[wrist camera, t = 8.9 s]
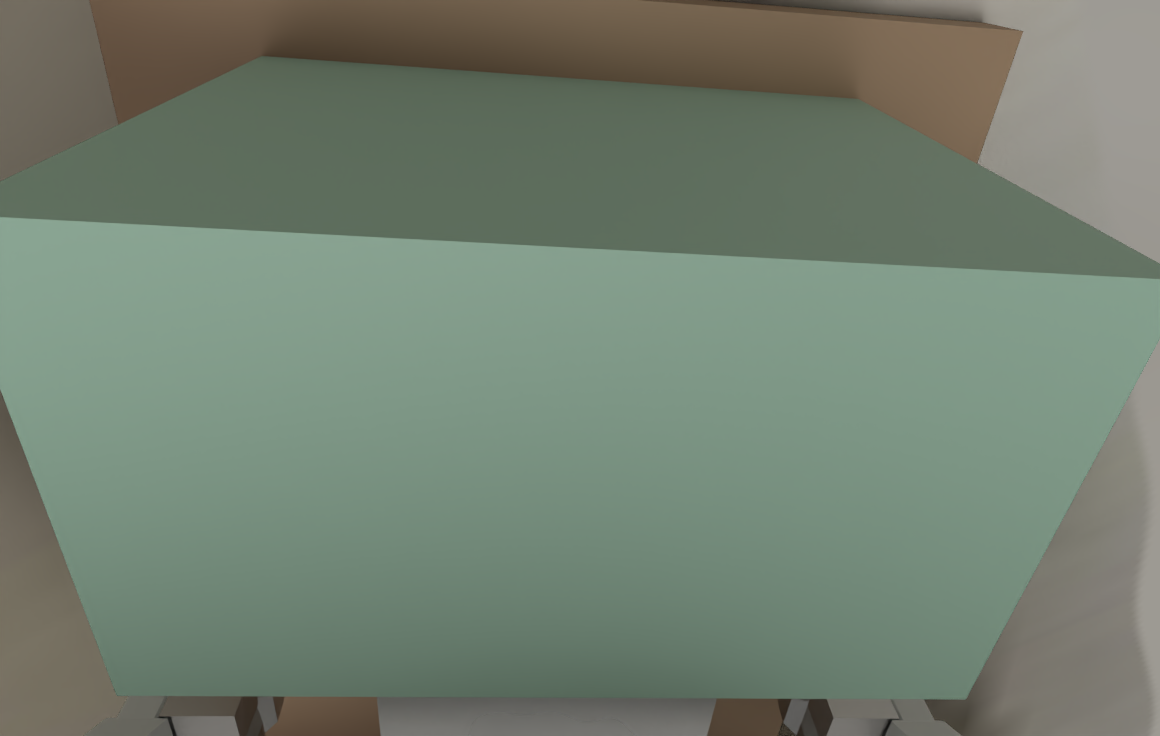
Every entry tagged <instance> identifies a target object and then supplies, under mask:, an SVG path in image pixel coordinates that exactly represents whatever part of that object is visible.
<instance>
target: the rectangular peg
mask: <svg viewBox="0 0 1160 736" xmlns="http://www.w3.org/2000/svg"><path fill="white" fill-rule="evenodd" d="M716 700H717V698H511V697H377V704H378V714H379V724H380V734H381V736H707V734H708V730H709V726H710V722H711V719H712V715H713V711H714V708H715V704H716Z"/></svg>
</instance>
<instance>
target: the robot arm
mask: <svg viewBox="0 0 1160 736" xmlns="http://www.w3.org/2000/svg"><path fill="white" fill-rule="evenodd" d="M283 702H284V697H281V696H128V698H127V699H126V701H125V703H124V705H123V707H122V709H121V711H120V712H119V714H118V716H117V718H105V719H104V720H103V721H102V722H100V723H99V724H98V725H96V726H95V727H94V728H92V729H91V730H90V731H88V732H87V733H86V734H85V735H83V736H265V733H266V732H267V731H268V730H269V729H270V728H271V727H272V726H273V725H274V724H275V723H277V722H278V719H279V715H280V712H281V709H282V706H283ZM778 705H779V710H780V713H781V717H782V720H783V723H784V724H785V725H786V726H787V727H788V728H789V729H790V730H791V731H792V732H793V733H794V734H795V735H796V736H961V735H960V734H959V733H958V732H957V731H955V730H954V729H953V728H952V727H951V726H949V725H948V724H947V723H946V722H944V721H940V720H934V719H933V717H932V715H931V713H930V711H929V709H928V707H927V705H926V703H925V701H924V699H778Z"/></svg>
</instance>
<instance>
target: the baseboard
mask: <svg viewBox="0 0 1160 736" xmlns="http://www.w3.org/2000/svg"><path fill="white" fill-rule="evenodd" d="M90 5H91V9H92V13H93V18H94V22H95V26H96V30H97V35H98V39H99V43H100V48H101V52H102V56H103V60H104V65H105V69H106V73H107V77H108V82H109V86H110V90H111V95H112V99H113V103H114V107H115V112H116V116H117V120H118V124H121V123H123V122H125V121H127V120H129V119H132V118H134V117H136V116H138V115H140V114H142V113H144V112H146V111H148V110H150V109H152V108H154V107H157V106H159V105H161V104H163V103H165V102H167V101H169V100H171V99H173V98H175V97H177V96H179V95H182V94H184V93H186V92H188V91H190V90H192V89H194V88H196V87H198V86H200V85H202V84H204V83H207V82H209V81H211V80H213V79H215V78H217V77H219V76H221V75H223V74H225V73H227V72H229V71H231V70H234V69H236V68H238V67H240V66H242V65H244V64H246V63H248V62H250V61H252V60H254V59H256V58H259V57H261V56H269V57H283V58H296V59H310V60H324V61H338V62H352V63H366V64H380V65H394V66H408V67H421V68H435V69H449V70H463V71H477V72H491V73H505V74H519V75H533V76H546V77H560V78H574V79H588V80H602V81H616V82H630V83H644V84H658V85H672V86H685V87H699V88H713V89H727V90H741V91H755V92H769V93H783V94H797V95H810V96H824V97H838V98H852V99H859V100H861V101H863V102H865V103H867V104H869V105H870V106H872V107H874V108H876V109H878V110H880V111H881V112H883V113H885V114H887V115H889V116H890V117H892V118H894V119H896V120H898V121H900V122H901V123H903V124H905V125H907V126H909V127H911V128H912V129H914V130H916V131H918V132H920V133H922V134H923V135H925V136H927V137H929V138H931V139H933V140H934V141H936V142H938V143H940V144H942V145H944V146H945V147H947V148H949V149H951V150H953V151H954V152H956V153H958V154H960V155H962V156H964V157H965V158H967V159H969V160H971V161H973V162H975V163H976V164H977V162H978V159H979V156H980V153H981V150H982V148H983V145H984V142H985V139H986V136H987V133H988V130H989V127H990V125H991V122H992V119H993V116H994V113H995V110H996V107H997V104H998V102H999V99H1000V96H1001V93H1002V90H1003V87H1004V84H1005V82H1006V79H1007V76H1008V73H1009V70H1010V67H1011V64H1012V61H1013V59H1014V56H1015V53H1016V50H1017V47H1018V44H1019V41H1020V38H1021V36H1022V33H1023V31H1019V30H1015V29H1010V28H1006V27H1001V26H997V25H992V24H988V23H981V22H969V21H957V20H944V19H932V18H920V17H908V16H895V15H883V14H871V13H859V12H847V11H834V10H822V9H810V8H798V7H785V6H773V5H761V4H749V3H736V2H724V1H712V0H90ZM782 722H783V720H782V717H781V713H780V710H779V705H778V699H741V698H717V700H716V704H715V708H714V711H713V715H712V719H711V722H710V726H709V730H708V734H707V736H778V733H779V731H780V728H781V725H782ZM265 736H381V734H380V724H379V714H378V704H377V697H284V702H283V706H282V709H281V712H280V715H279V719H278V722H277V723H275V724H274V725H273V726H272V727H271V728H270V729H269V730H268V731H267V732H266V733H265Z"/></svg>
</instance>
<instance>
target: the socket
mask: <svg viewBox="0 0 1160 736" xmlns="http://www.w3.org/2000/svg"><path fill="white" fill-rule="evenodd" d="M1159 339H1160V264H1159V263H1157V262H1156V261H1154V260H1152V259H1150V258H1148V257H1146V256H1144V255H1143V254H1141V253H1139V252H1137V251H1136V250H1134V249H1132V248H1130V247H1128V246H1126V245H1125V244H1123V243H1121V242H1119V241H1117V240H1115V239H1114V238H1112V237H1110V236H1108V235H1106V234H1104V233H1103V232H1101V231H1099V230H1097V229H1095V228H1094V227H1092V226H1090V225H1088V224H1086V223H1084V222H1083V221H1081V220H1079V219H1077V218H1075V217H1073V216H1072V215H1070V214H1068V213H1066V212H1064V211H1062V210H1061V209H1059V208H1057V207H1055V206H1053V205H1051V204H1050V203H1048V202H1046V201H1044V200H1042V199H1040V198H1039V197H1037V196H1035V195H1033V194H1031V193H1029V192H1028V191H1026V190H1024V189H1022V188H1020V187H1019V186H1017V185H1015V184H1013V183H1011V182H1009V181H1008V180H1006V179H1004V178H1002V177H1000V176H998V175H997V174H995V173H993V172H991V171H989V170H987V169H986V168H984V167H982V166H980V165H978V164H976V163H975V162H973V161H971V160H969V159H967V158H965V157H964V156H962V155H960V154H958V153H956V152H954V151H953V150H951V149H949V148H947V147H945V146H944V145H942V144H940V143H938V142H936V141H934V140H933V139H931V138H929V137H927V136H925V135H923V134H922V133H920V132H918V131H916V130H914V129H912V128H911V127H909V126H907V125H905V124H903V123H901V122H900V121H898V120H896V119H894V118H892V117H890V116H889V115H887V114H885V113H883V112H881V111H880V110H878V109H876V108H874V107H872V106H870V105H869V104H867V103H865V102H863V101H861V100H859V99H852V98H838V97H824V96H810V95H797V94H783V93H769V92H755V91H741V90H727V89H713V88H699V87H685V86H672V85H658V84H644V83H630V82H616V81H602V80H588V79H574V78H560V77H546V76H533V75H519V74H505V73H491V72H477V71H463V70H449V69H435V68H421V67H408V66H394V65H380V64H366V63H352V62H338V61H324V60H310V59H296V58H283V57H269V56H261V57H259V58H256V59H254V60H252V61H250V62H248V63H246V64H244V65H242V66H240V67H238V68H236V69H234V70H231V71H229V72H227V73H225V74H223V75H221V76H219V77H217V78H215V79H213V80H211V81H209V82H207V83H204V84H202V85H200V86H198V87H196V88H194V89H192V90H190V91H188V92H186V93H184V94H182V95H179V96H177V97H175V98H173V99H171V100H169V101H167V102H165V103H163V104H161V105H159V106H157V107H154V108H152V109H150V110H148V111H146V112H144V113H142V114H140V115H138V116H136V117H134V118H132V119H129V120H127V121H125V122H123V123H121V124H119V125H117V126H115V127H113V128H111V129H109V130H107V131H104V132H102V133H100V134H98V135H96V136H94V137H92V138H90V139H88V140H86V141H84V142H82V143H79V144H77V145H75V146H73V147H71V148H69V149H67V150H65V151H63V152H61V153H59V154H57V155H54V156H52V157H50V158H48V159H46V160H44V161H42V162H40V163H38V164H36V165H34V166H32V167H29V168H27V169H25V170H23V171H21V172H19V173H17V174H15V175H13V176H11V177H9V178H7V179H5V180H2V181H0V390H1V392H2V395H3V398H4V400H5V403H6V405H7V408H8V411H9V413H10V416H11V419H12V421H13V424H14V427H15V429H16V432H17V434H18V437H19V440H20V442H21V445H22V448H23V450H24V453H25V455H26V458H27V461H28V463H29V466H30V469H31V471H32V474H33V477H34V479H35V482H36V484H37V487H38V490H39V492H40V495H41V498H42V500H43V503H44V505H45V508H46V511H47V513H48V516H49V519H50V521H51V524H52V527H53V529H54V532H55V534H56V537H57V540H58V542H59V545H60V548H61V550H62V553H63V555H64V558H65V561H66V563H67V566H68V569H69V571H70V574H71V577H72V579H73V582H74V584H75V587H76V590H77V592H78V595H79V598H80V600H81V603H82V606H83V608H84V611H85V613H86V616H87V619H88V621H89V624H90V627H91V629H92V632H93V634H94V637H95V640H96V642H97V645H98V648H99V650H100V653H101V656H102V658H103V661H104V663H105V666H106V669H107V671H108V674H109V677H110V679H111V682H112V684H113V687H114V690H115V692H116V695H117V696H281V697H511V698H741V699H966V698H967V696H968V694H969V692H970V691H971V689H972V687H973V685H974V683H975V681H976V679H977V678H978V676H979V674H980V672H981V670H982V668H983V666H984V665H985V663H986V661H987V659H988V657H989V655H990V653H991V652H992V650H993V648H994V646H995V644H996V642H997V640H998V639H999V637H1000V635H1001V633H1002V631H1003V629H1004V627H1005V626H1006V624H1007V622H1008V620H1009V618H1010V616H1011V614H1012V613H1013V611H1014V609H1015V607H1016V605H1017V603H1018V601H1019V600H1020V598H1021V596H1022V594H1023V592H1024V590H1025V588H1026V587H1027V585H1028V583H1029V581H1030V579H1031V577H1032V575H1033V574H1034V572H1035V570H1036V568H1037V566H1038V564H1039V562H1040V561H1041V559H1042V557H1043V555H1044V553H1045V551H1046V549H1047V547H1048V546H1049V544H1050V542H1051V540H1052V538H1053V536H1054V534H1055V533H1056V531H1057V529H1058V527H1059V525H1060V523H1061V521H1062V520H1063V518H1064V516H1065V514H1066V512H1067V510H1068V508H1069V507H1070V505H1071V503H1072V501H1073V499H1074V497H1075V495H1076V494H1077V492H1078V490H1079V488H1080V486H1081V484H1082V482H1083V481H1084V479H1085V477H1086V475H1087V473H1088V471H1089V469H1090V468H1091V466H1092V464H1093V462H1094V460H1095V458H1096V456H1097V455H1098V453H1099V451H1100V449H1101V447H1102V445H1103V443H1104V442H1105V440H1106V438H1107V436H1108V434H1109V432H1110V430H1111V429H1112V427H1113V425H1114V423H1115V421H1116V419H1117V417H1118V416H1119V414H1120V412H1121V410H1122V408H1123V406H1124V404H1125V403H1126V401H1127V399H1128V397H1129V395H1130V393H1131V391H1132V390H1133V388H1134V386H1135V384H1136V382H1137V380H1138V378H1139V377H1140V374H1141V373H1142V371H1143V369H1144V367H1145V365H1146V364H1147V362H1148V360H1149V358H1150V356H1151V354H1152V352H1153V350H1154V349H1155V347H1156V345H1157V343H1158V341H1159Z"/></svg>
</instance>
